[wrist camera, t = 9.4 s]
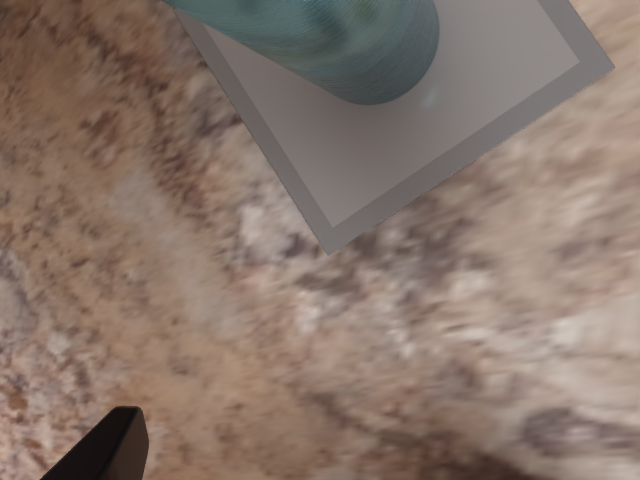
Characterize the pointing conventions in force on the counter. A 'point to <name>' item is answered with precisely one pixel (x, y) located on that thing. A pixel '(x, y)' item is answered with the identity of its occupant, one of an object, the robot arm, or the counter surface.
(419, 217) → the counter surface
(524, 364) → the counter surface
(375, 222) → the coaster
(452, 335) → the counter surface
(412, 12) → the bottle
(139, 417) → the robot arm
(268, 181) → the counter surface
